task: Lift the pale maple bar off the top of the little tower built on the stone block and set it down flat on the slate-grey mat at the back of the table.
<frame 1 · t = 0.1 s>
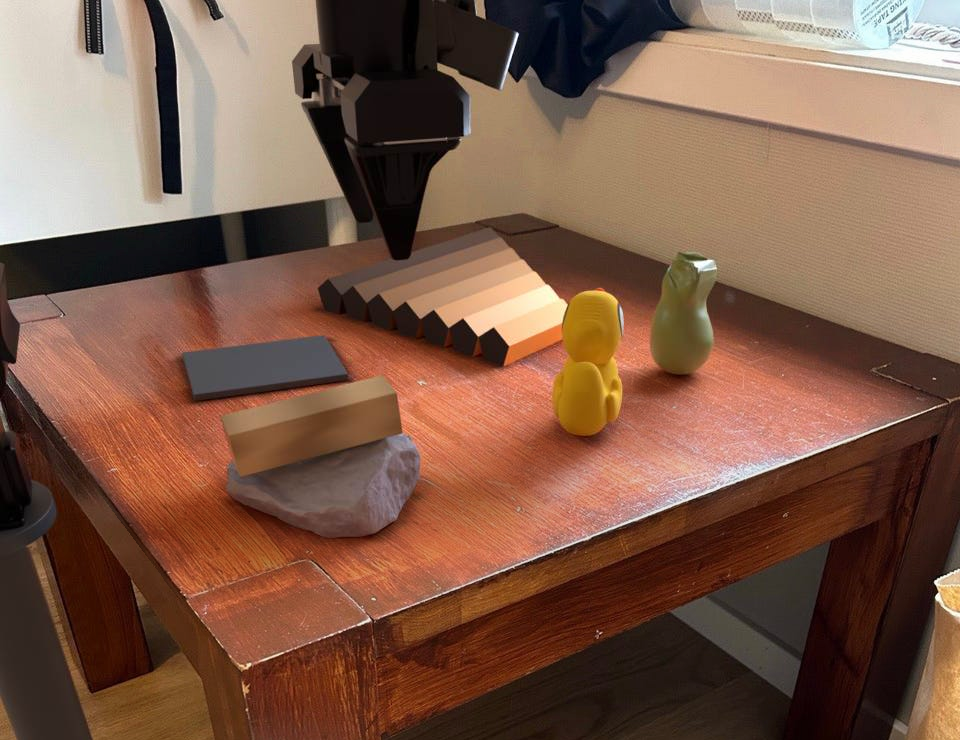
hand: (381, 239, 62), 16 cm above the table, tool pointing down, fingers open, 9 cm apart
grey mat: (264, 369, 86), on the table
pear: (677, 374, 85), on the table
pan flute: (492, 305, 100), on the table
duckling: (585, 426, 76), on the table
stone block: (322, 503, 67), on the table, touching maple bar
maple bar: (317, 445, 64), point 4 cm above the table, tilted 5°, touching stone block
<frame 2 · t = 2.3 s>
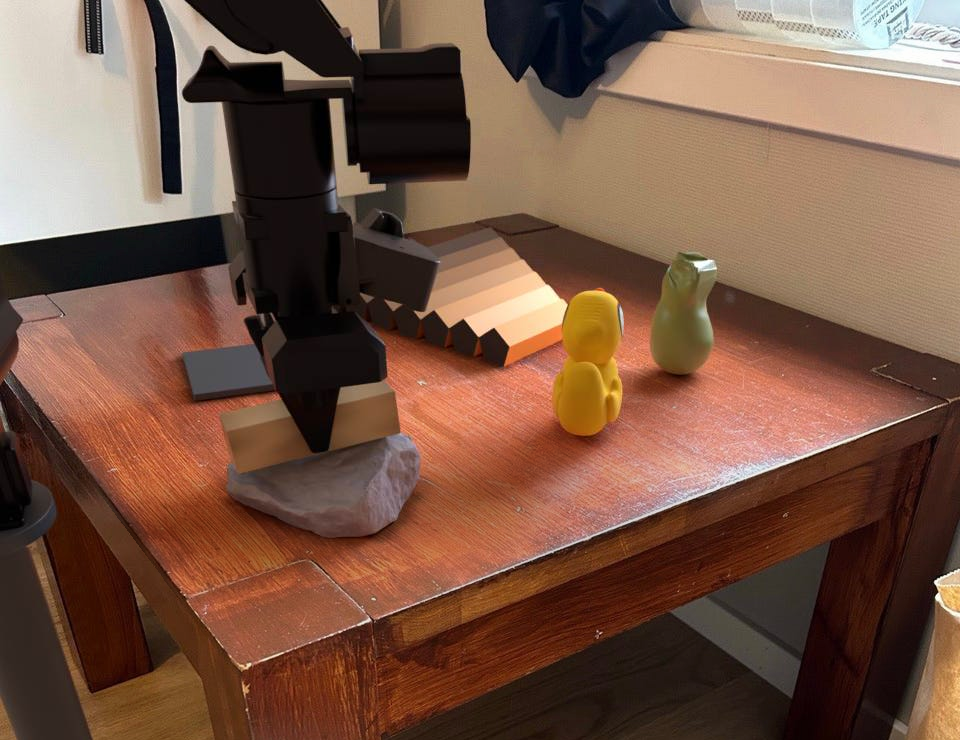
hand: (314, 440, 64), 5 cm above the table, tool pointing down, fingers closed on maple bar, 3 cm apart
maple bar: (315, 444, 64), point 4 cm above the table, touching gripper, stone block
everything else where it was.
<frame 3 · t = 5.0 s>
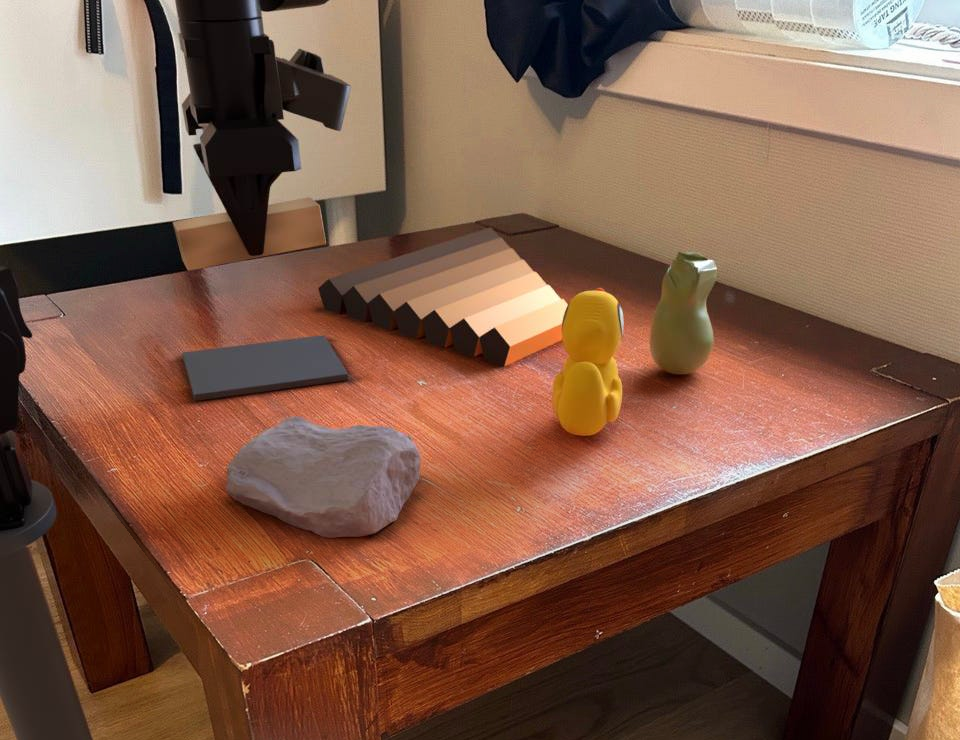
hand: (253, 249, 77), 11 cm above the table, tool pointing down, fingers closed on maple bar, 3 cm apart
stone block: (322, 503, 67), on the table
maple bar: (254, 252, 77), point 11 cm above the table, touching gripper
everything else where it was.
when the fingers open (1 cm above the table, at t = 7.8 s): maple bar stays where it is, resting on grey mat.
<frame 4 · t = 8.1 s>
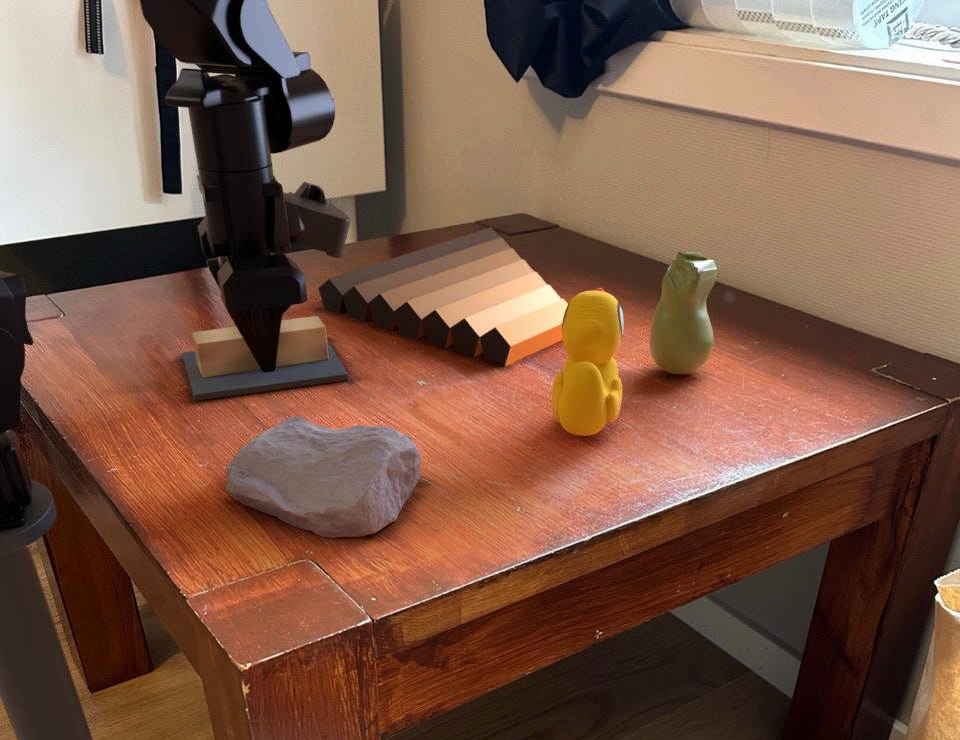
hand: (262, 357, 85), 1 cm above the table, tool pointing down, fingers open, 6 cm apart
maple bar: (263, 362, 85), point 1 cm above the table, touching grey mat
everything else where it was.
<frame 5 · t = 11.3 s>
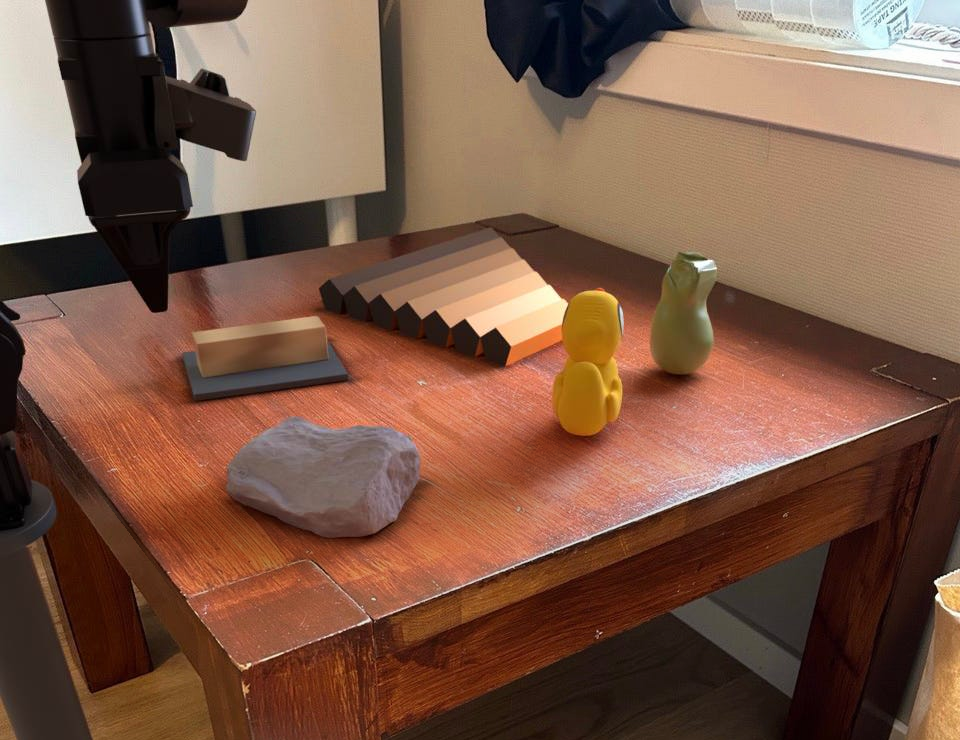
hand: (154, 291, 69), 11 cm above the table, tool pointing down, fingers open, 9 cm apart
nothing on the table moved.
at the end: maple bar inside the target area on the grey mat (0.0 cm from its centre), point 0.6 cm above the grey mat's base; maple bar tilted 0°; stone block moved 0.2 cm from its start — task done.
